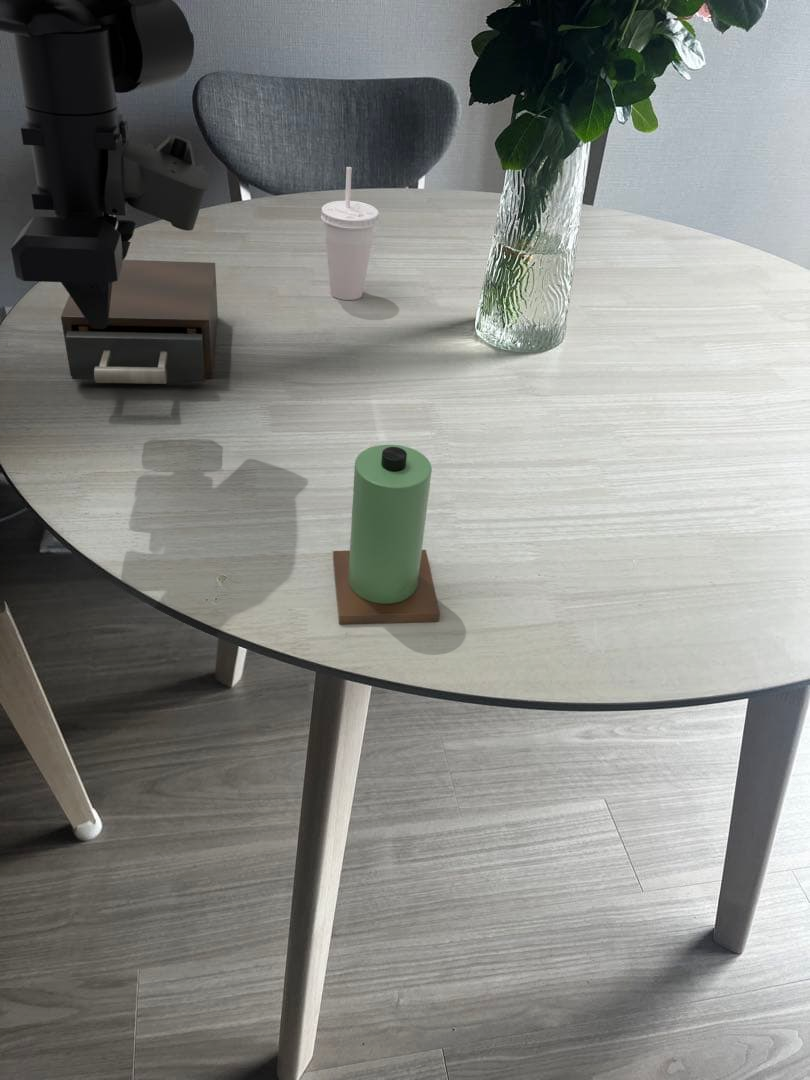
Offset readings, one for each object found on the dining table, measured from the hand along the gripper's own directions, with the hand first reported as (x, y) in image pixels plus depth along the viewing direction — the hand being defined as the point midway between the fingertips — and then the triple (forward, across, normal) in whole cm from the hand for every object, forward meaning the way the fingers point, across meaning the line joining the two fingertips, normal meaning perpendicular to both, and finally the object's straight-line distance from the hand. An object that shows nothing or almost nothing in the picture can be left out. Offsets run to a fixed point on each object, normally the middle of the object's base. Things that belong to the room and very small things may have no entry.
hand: (100, 326), depth 68 cm
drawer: (+10, +15, -1) cm, 18 cm away
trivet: (+12, -18, -21) cm, 30 cm away
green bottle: (+11, -18, -21) cm, 29 cm away
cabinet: (+11, +20, -1) cm, 23 cm away
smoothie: (+11, +34, -22) cm, 42 cm away
